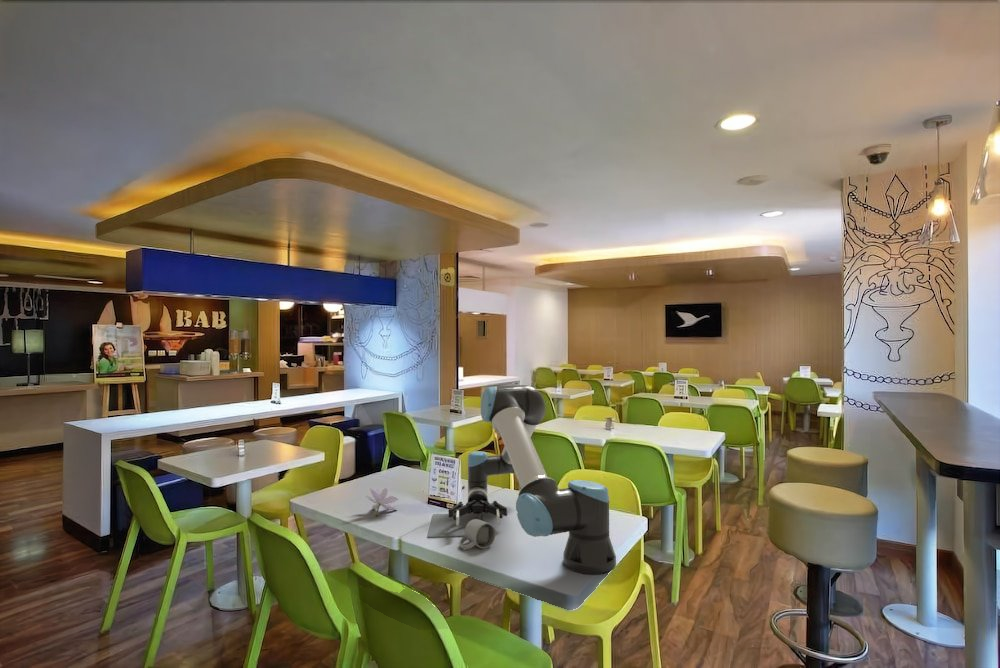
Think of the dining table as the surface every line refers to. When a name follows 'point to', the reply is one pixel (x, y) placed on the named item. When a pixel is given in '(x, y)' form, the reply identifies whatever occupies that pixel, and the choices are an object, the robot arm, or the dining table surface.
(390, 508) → the water lily
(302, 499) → the dining table surface
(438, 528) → the placemat
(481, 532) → the ceramic mug
